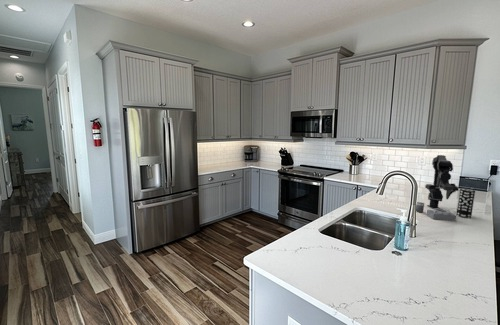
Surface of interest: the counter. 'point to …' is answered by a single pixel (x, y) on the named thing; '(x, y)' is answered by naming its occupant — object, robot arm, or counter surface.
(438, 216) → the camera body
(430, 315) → the counter surface
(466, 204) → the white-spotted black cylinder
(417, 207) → the lens
